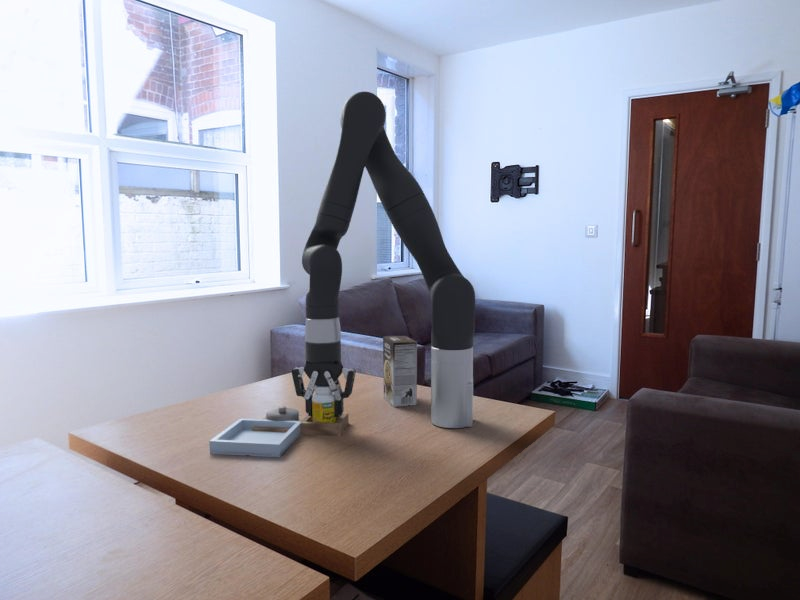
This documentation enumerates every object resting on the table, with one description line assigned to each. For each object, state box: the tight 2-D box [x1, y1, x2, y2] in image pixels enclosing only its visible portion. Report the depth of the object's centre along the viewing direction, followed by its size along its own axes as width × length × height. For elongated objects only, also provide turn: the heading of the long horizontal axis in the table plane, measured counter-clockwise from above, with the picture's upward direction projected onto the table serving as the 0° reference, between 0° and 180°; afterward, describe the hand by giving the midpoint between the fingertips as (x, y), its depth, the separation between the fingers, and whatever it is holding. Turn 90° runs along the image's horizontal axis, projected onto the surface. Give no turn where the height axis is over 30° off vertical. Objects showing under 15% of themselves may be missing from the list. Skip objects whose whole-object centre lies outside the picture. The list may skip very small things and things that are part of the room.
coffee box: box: [382, 335, 418, 408], centre depth 145 cm, size 9×6×16 cm
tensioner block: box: [252, 405, 350, 437], centre depth 125 cm, size 19×10×4 cm, turn 82°
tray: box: [209, 418, 302, 458], centre depth 116 cm, size 14×14×2 cm
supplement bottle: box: [312, 385, 337, 423], centre depth 124 cm, size 5×5×10 cm
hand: (324, 415), depth 124 cm, fingers closed on supplement bottle, 5 cm apart
